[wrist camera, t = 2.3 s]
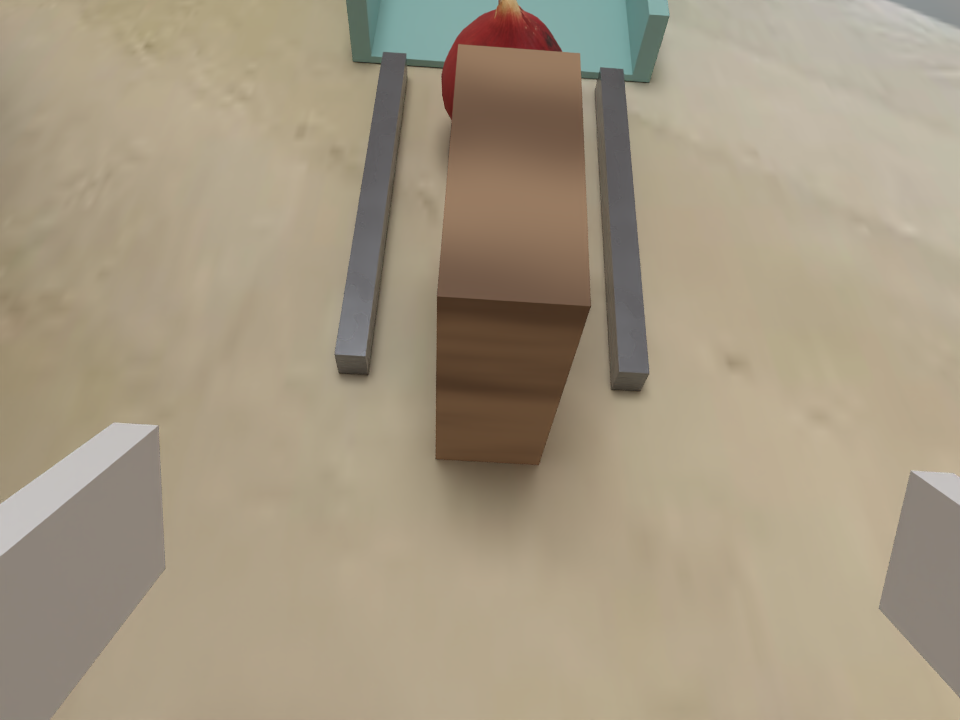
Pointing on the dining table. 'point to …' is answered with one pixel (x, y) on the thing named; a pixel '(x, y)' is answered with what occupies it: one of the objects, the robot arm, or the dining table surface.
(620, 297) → the slot rails
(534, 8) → the tray
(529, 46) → the onion
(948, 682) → the robot arm
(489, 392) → the pusher block
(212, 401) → the dining table surface
